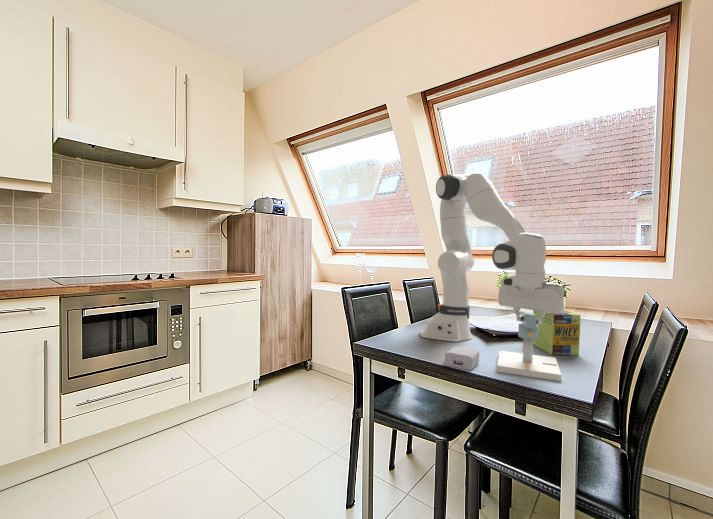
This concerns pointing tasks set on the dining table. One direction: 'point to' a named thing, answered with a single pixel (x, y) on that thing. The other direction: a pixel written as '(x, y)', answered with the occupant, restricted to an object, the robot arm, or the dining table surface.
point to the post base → (528, 363)
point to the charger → (462, 357)
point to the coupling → (528, 326)
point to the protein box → (559, 333)
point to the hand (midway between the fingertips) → (528, 322)
